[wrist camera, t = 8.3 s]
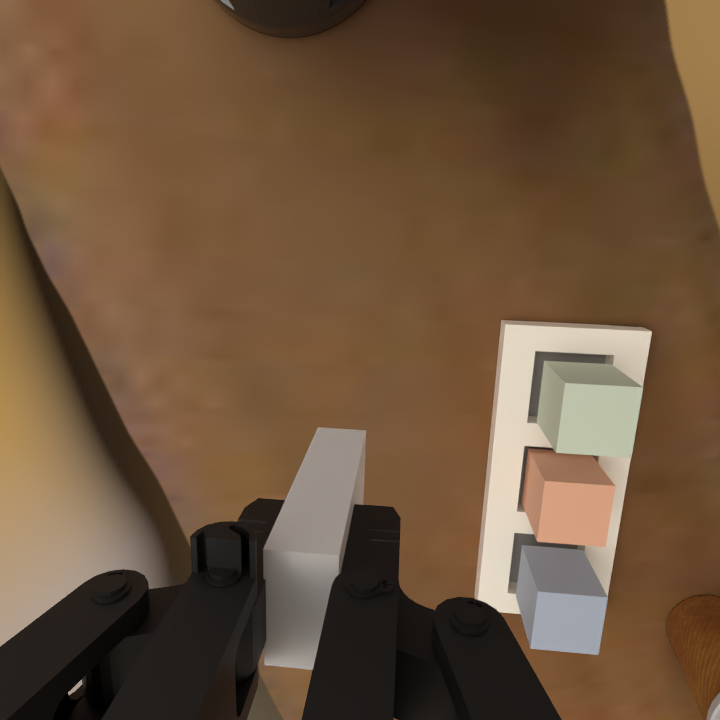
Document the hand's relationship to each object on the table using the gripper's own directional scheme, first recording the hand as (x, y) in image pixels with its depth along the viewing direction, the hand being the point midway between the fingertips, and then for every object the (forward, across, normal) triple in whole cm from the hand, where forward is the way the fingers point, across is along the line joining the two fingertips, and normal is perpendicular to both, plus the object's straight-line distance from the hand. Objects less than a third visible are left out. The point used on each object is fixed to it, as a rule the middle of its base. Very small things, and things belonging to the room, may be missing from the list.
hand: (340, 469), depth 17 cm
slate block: (+26, +15, -21) cm, 37 cm away
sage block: (+26, +15, -5) cm, 31 cm away
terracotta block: (+28, +15, -13) cm, 34 cm away
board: (+29, +15, -13) cm, 35 cm away
